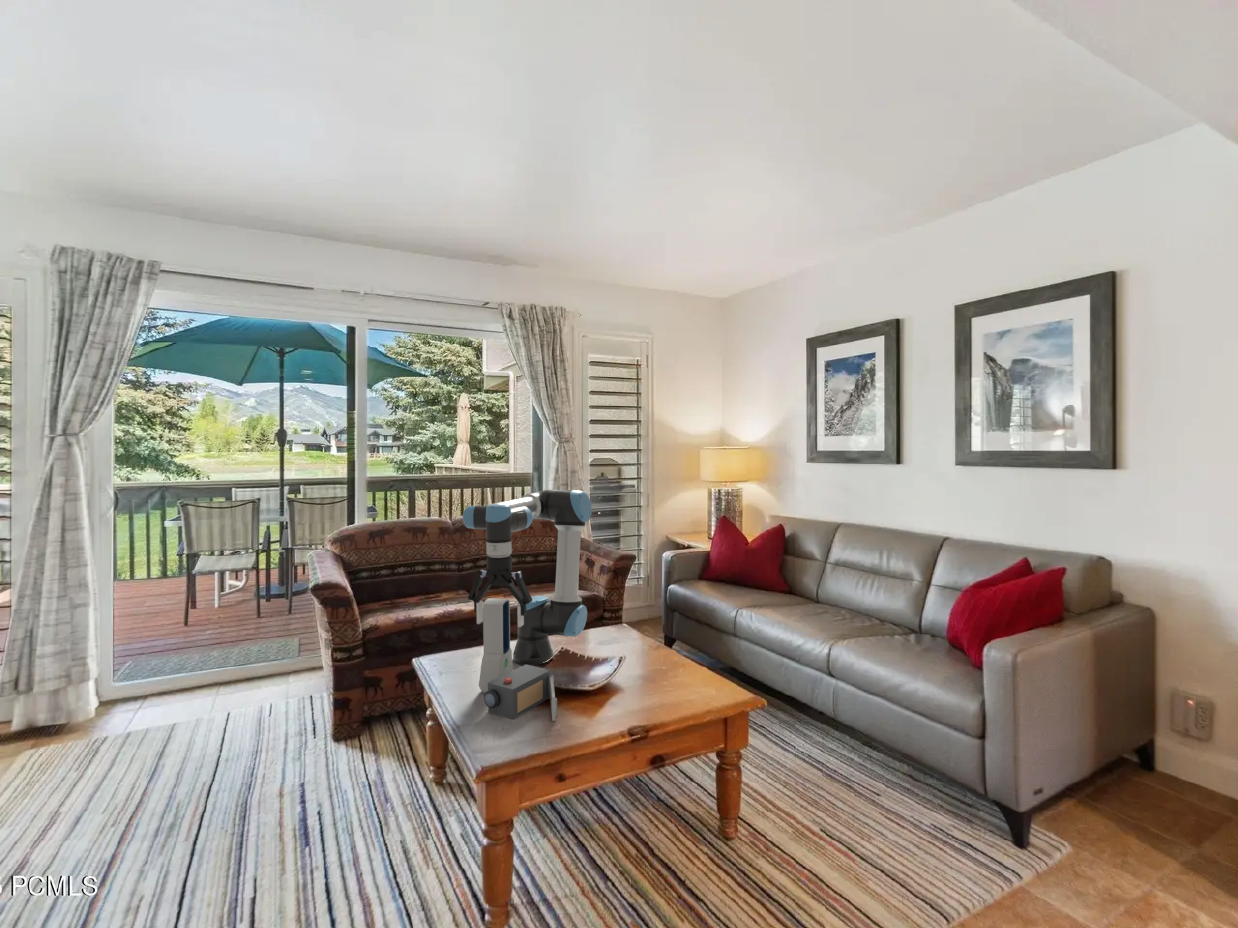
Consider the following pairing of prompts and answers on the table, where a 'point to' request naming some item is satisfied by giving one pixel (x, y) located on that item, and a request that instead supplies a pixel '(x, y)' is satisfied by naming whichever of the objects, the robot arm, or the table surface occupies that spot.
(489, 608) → the electronic device
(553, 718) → the grey thin flat plate
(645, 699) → the table surface
